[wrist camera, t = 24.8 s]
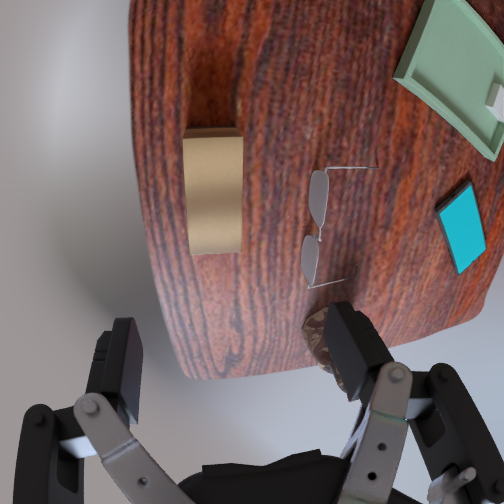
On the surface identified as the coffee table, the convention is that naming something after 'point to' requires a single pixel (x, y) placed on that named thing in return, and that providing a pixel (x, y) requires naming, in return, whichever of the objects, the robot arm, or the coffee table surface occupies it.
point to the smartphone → (462, 227)
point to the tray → (456, 70)
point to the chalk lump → (496, 101)
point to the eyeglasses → (317, 210)
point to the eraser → (213, 188)
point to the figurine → (320, 345)
